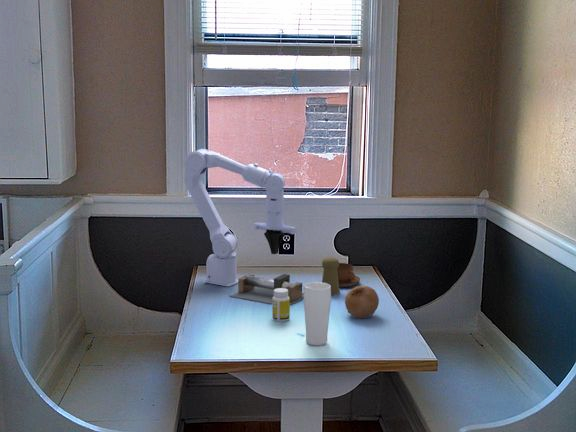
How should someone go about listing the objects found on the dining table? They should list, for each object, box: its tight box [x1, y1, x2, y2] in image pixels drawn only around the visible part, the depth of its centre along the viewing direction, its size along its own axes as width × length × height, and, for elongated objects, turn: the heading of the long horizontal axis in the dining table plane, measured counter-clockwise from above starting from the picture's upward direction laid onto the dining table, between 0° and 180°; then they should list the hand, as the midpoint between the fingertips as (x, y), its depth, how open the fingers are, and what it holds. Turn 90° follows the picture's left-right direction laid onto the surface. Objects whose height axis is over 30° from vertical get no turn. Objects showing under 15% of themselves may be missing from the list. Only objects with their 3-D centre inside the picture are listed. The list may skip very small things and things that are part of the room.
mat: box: [229, 287, 304, 306], centre depth 223 cm, size 20×14×1 cm
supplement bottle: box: [271, 288, 291, 323], centre depth 201 cm, size 5×5×8 cm
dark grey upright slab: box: [273, 273, 291, 289], centre depth 220 cm, size 2×6×6 cm, turn 150°
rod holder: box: [237, 273, 303, 303], centre depth 223 cm, size 19×6×5 cm, turn 60°
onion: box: [344, 285, 380, 319], centre depth 204 cm, size 10×9×10 cm
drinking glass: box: [303, 281, 332, 347], centre depth 183 cm, size 7×7×15 cm
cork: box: [321, 257, 341, 296], centre depth 226 cm, size 6×6×11 cm
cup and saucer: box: [337, 262, 361, 288], centre depth 236 cm, size 12×12×6 cm
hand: (274, 253), depth 233 cm, fingers closed
